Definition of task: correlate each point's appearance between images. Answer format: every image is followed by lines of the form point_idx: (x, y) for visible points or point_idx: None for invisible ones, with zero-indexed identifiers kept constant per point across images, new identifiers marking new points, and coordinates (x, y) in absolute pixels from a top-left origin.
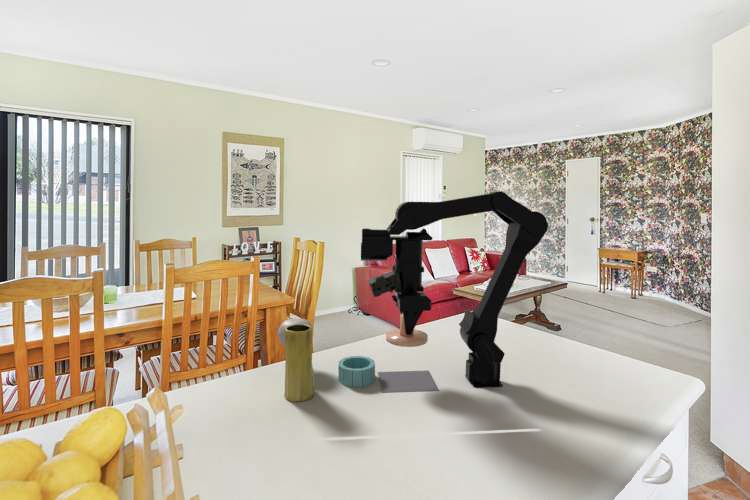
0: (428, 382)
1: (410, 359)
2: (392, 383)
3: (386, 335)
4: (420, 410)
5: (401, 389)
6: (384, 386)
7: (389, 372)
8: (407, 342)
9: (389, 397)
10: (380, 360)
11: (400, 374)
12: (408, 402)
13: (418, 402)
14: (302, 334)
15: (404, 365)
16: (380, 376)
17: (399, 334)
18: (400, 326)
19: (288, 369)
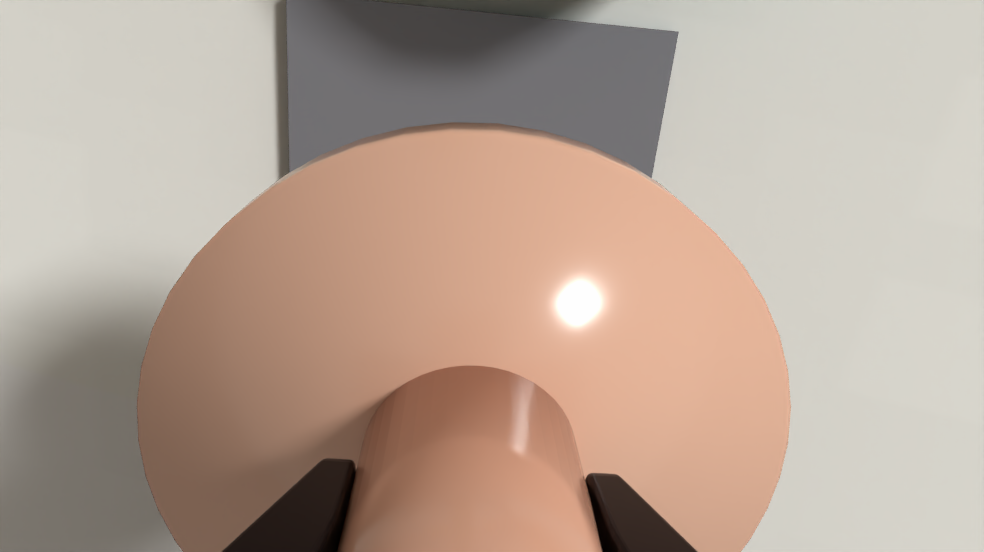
0: None
1: (858, 353)
2: (436, 114)
3: (490, 139)
4: (48, 220)
5: None
6: (392, 35)
7: (643, 134)
8: (142, 399)
9: (237, 43)
10: (935, 113)
11: None
12: (158, 168)
13: (159, 235)
14: None
15: (766, 285)
16: (586, 39)
17: (511, 364)
18: (458, 463)
19: None
